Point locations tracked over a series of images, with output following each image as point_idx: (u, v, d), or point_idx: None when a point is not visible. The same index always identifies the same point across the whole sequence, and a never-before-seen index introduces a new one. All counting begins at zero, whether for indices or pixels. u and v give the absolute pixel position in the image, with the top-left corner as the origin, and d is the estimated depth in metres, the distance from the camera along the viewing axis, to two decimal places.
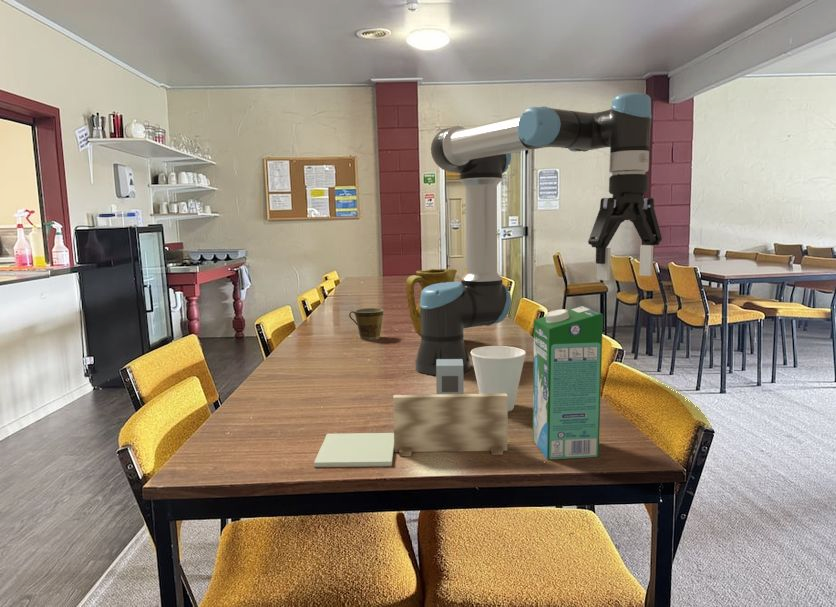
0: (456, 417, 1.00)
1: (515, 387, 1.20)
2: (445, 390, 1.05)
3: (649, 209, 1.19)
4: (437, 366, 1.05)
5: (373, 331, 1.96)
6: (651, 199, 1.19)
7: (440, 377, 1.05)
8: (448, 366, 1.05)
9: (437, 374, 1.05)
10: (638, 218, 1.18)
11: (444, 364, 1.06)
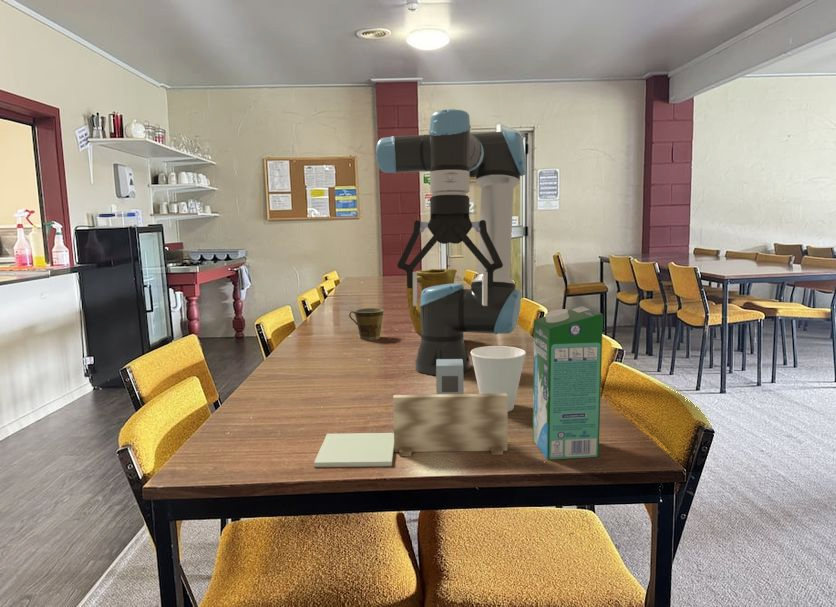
0: (456, 417, 1.00)
1: (515, 387, 1.20)
2: (445, 390, 1.05)
3: (480, 232, 1.08)
4: (437, 366, 1.05)
5: (373, 331, 1.96)
6: (481, 221, 1.08)
7: (440, 377, 1.05)
8: (448, 366, 1.05)
9: (437, 374, 1.05)
10: None
11: (444, 364, 1.06)
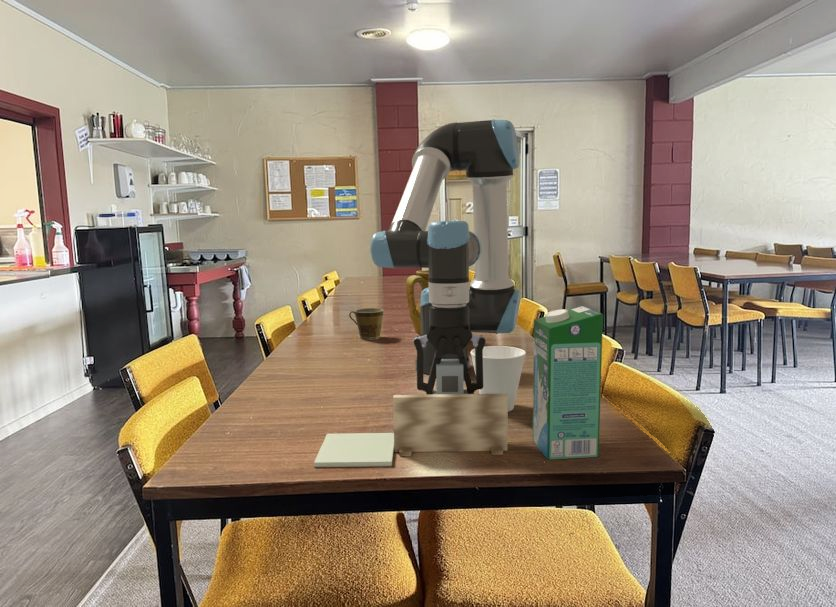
0: (456, 417, 1.00)
1: (515, 387, 1.20)
2: (445, 390, 1.05)
3: (476, 348, 1.06)
4: (437, 366, 1.05)
5: (373, 331, 1.96)
6: (482, 339, 1.05)
7: (440, 377, 1.05)
8: (448, 366, 1.05)
9: (437, 374, 1.05)
10: None
11: (444, 364, 1.06)
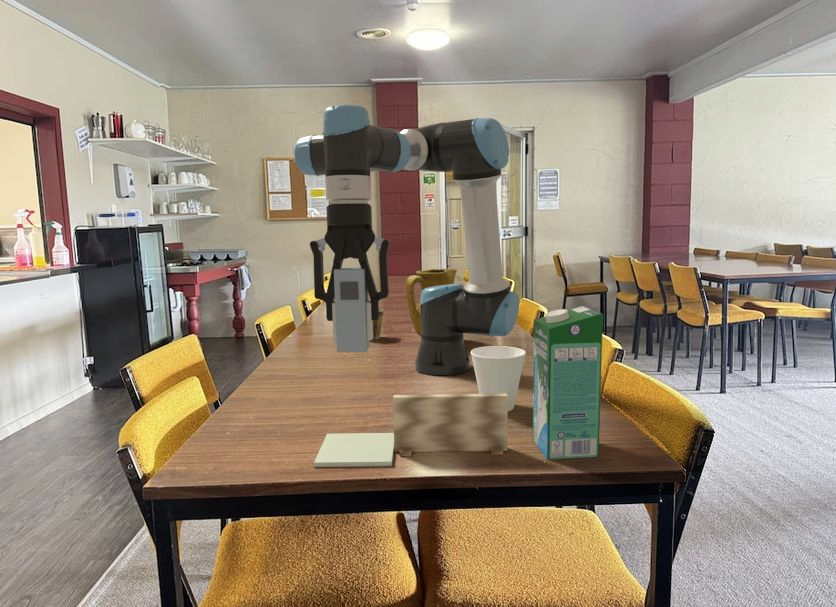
0: (456, 417, 1.00)
1: (515, 387, 1.20)
2: (344, 298, 0.95)
3: (379, 251, 0.95)
4: (335, 270, 0.94)
5: (373, 331, 1.96)
6: (385, 241, 0.95)
7: (338, 283, 0.95)
8: (347, 271, 0.94)
9: (335, 279, 0.95)
10: None
11: (343, 269, 0.95)
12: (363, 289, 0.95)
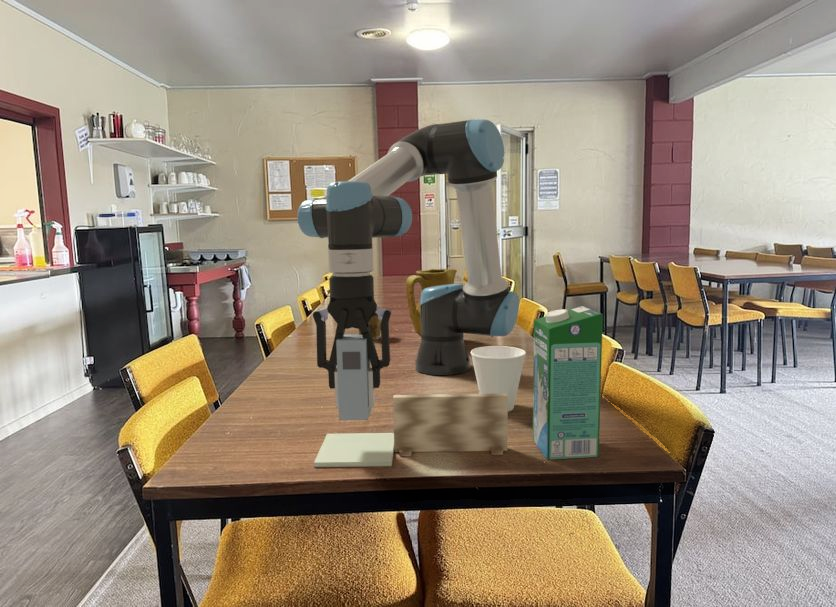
0: (456, 417, 1.00)
1: (515, 387, 1.20)
2: (346, 368, 0.96)
3: (381, 322, 0.97)
4: (337, 341, 0.96)
5: (373, 331, 1.96)
6: (386, 312, 0.97)
7: (341, 353, 0.96)
8: (349, 341, 0.96)
9: (337, 350, 0.96)
10: None
11: (346, 339, 0.97)
12: (365, 359, 0.96)
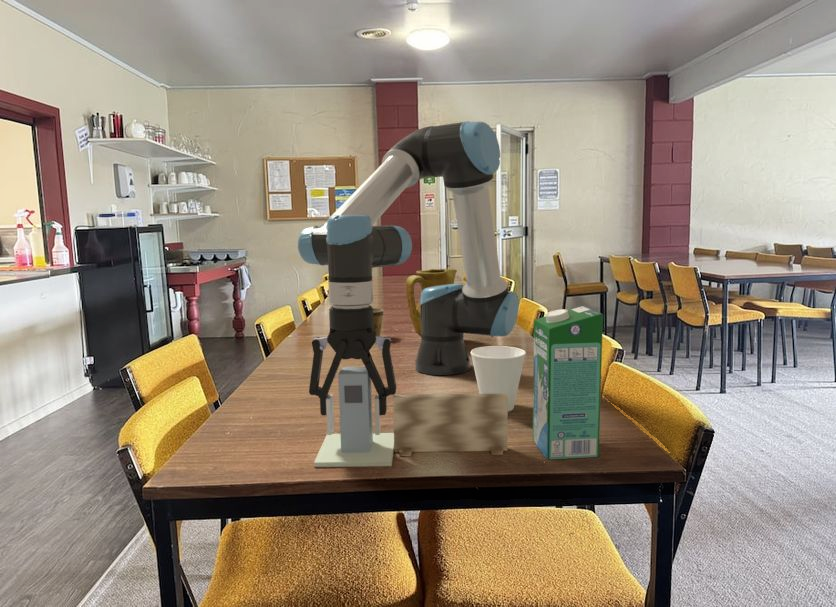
0: (456, 417, 1.00)
1: (515, 387, 1.20)
2: (348, 401, 0.97)
3: (382, 351, 0.98)
4: (339, 375, 0.97)
5: None
6: (386, 340, 0.97)
7: (343, 387, 0.97)
8: (351, 375, 0.97)
9: (339, 383, 0.97)
10: None
11: (347, 372, 0.98)
12: (367, 392, 0.97)
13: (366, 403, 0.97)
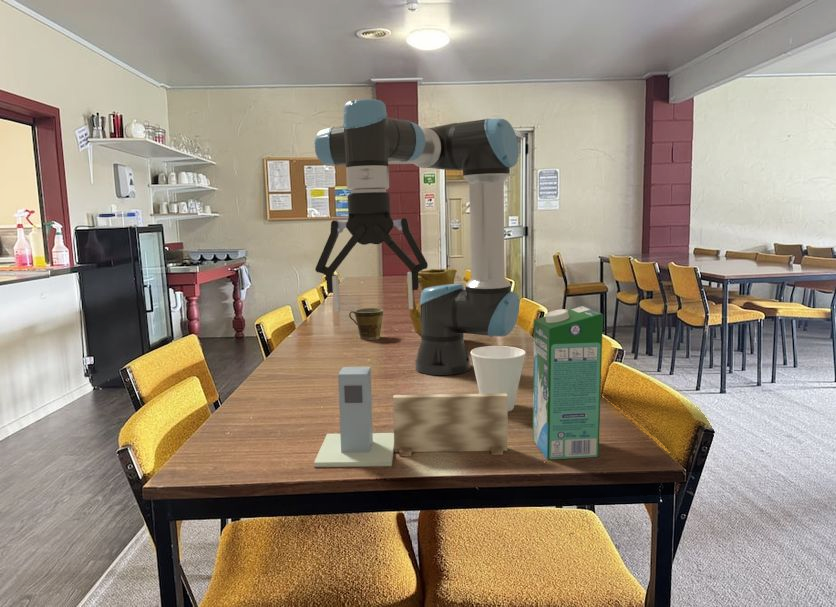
0: (456, 417, 1.00)
1: (515, 387, 1.20)
2: (348, 401, 0.97)
3: None
4: (339, 375, 0.97)
5: (373, 331, 1.96)
6: (403, 219, 1.01)
7: (343, 387, 0.97)
8: (351, 375, 0.97)
9: (339, 383, 0.97)
10: None
11: (347, 372, 0.98)
12: (367, 392, 0.97)
13: (366, 403, 0.97)
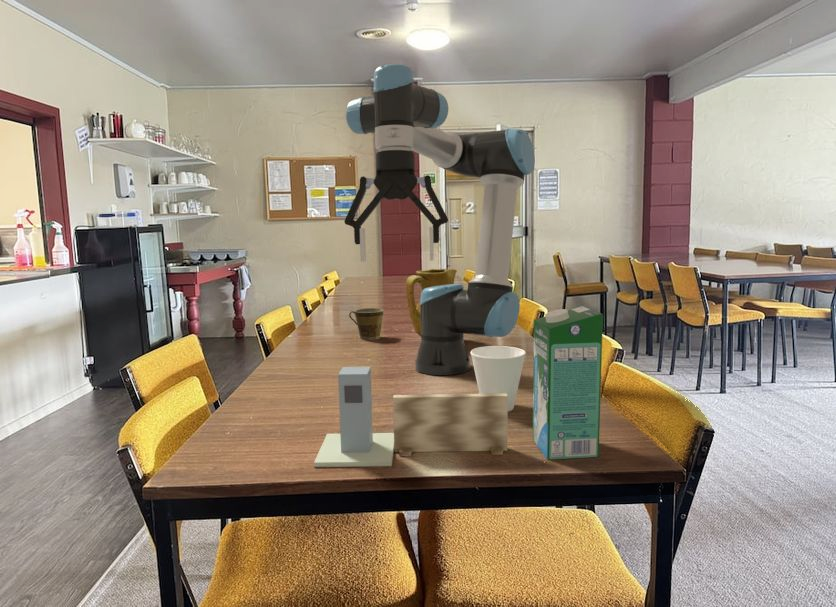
0: (456, 417, 1.00)
1: (515, 387, 1.20)
2: (348, 401, 0.97)
3: (425, 187, 1.10)
4: (339, 375, 0.97)
5: (373, 331, 1.96)
6: (426, 176, 1.09)
7: (343, 387, 0.97)
8: (351, 375, 0.97)
9: (339, 383, 0.97)
10: None
11: (347, 372, 0.98)
12: (367, 392, 0.97)
13: (366, 403, 0.97)
